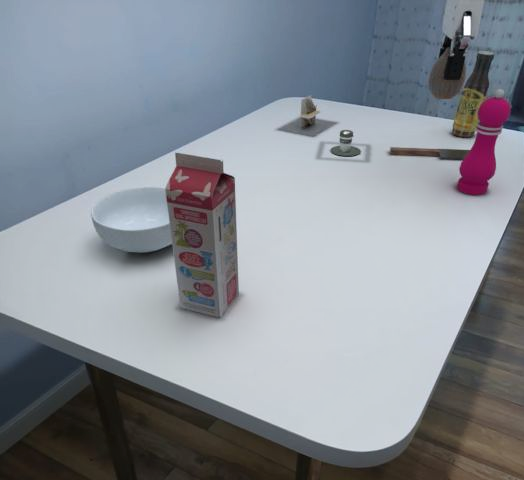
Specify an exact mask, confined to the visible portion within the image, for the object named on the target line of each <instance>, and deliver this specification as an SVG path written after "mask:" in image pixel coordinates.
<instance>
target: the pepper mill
mask: <svg viewBox="0 0 524 480" xmlns="http://www.w3.org/2000/svg"><path fill="white" fill-rule="evenodd" d="M504 96H505V90H503V88H499V89H496V90H495V91H494V93H493V96H492V97H488V98H486V99H485V101H484V102H482V104H481V105H480V107H479V109H478V113H477V114H478V119H479V122H478V123H477V128H476V130H475V132H476V136H475V139H474V142H473V145H472V146H471V148H470V149H469V150H470V151H469V152H468V154H467V155H466V156H465V157H464V159H463V160H461V163H460V166H459V167H458V171H459V174H460V176H461V177H459V178H458V181H457V185H456V190H458V191H459V192H461V193H462V194H466V195H471V196H481V195H485V194H486V193H487V192H488V190H489V189H488V188H489V185H490V183H489V182H488V181H490V180H491V179H493V177H494V176H495V174H496V170H497V160H496V153H495V151H496V150H495V148H496V143H497V140H498V138H499V135H501V134H502V133H503V132H502V131H503V129H504V125H503V124H504V123H506V122H507V120H508V119H509V117H510V115H511V110H512V108H511V104H510V102H509V101H508V100H507V99H506V98H504Z"/></svg>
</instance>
